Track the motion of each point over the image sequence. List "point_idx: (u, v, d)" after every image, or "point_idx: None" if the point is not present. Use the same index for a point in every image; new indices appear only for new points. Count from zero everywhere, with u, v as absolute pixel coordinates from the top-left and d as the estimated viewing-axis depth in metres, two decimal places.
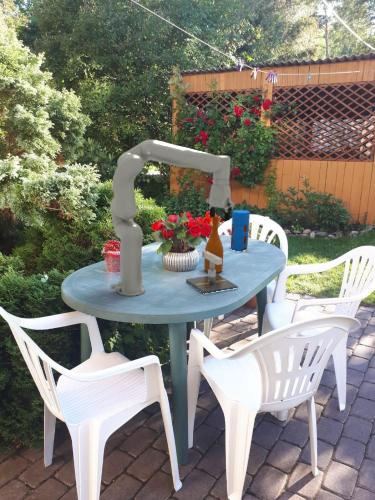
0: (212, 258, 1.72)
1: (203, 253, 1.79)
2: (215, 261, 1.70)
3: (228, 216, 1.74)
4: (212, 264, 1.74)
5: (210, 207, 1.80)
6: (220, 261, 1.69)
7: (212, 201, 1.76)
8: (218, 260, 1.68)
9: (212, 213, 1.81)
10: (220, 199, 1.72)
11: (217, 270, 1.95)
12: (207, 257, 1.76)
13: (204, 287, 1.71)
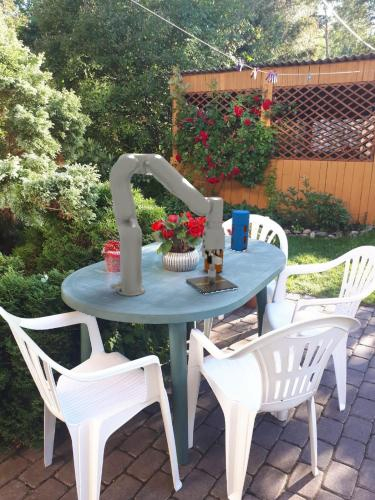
0: (212, 258, 1.72)
1: (203, 253, 1.79)
2: (215, 261, 1.70)
3: None
4: (212, 264, 1.74)
5: (210, 253, 1.71)
6: (220, 261, 1.69)
7: (211, 245, 1.69)
8: (218, 260, 1.68)
9: None
10: (221, 240, 1.71)
11: (217, 270, 1.95)
12: None
13: (204, 287, 1.71)
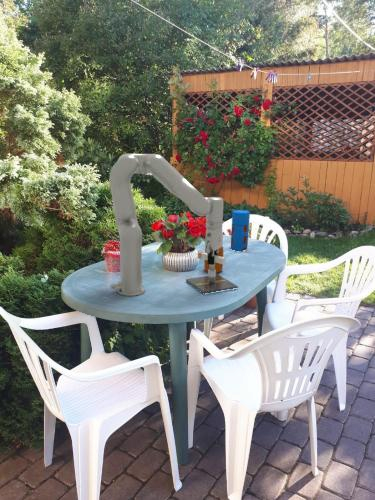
0: (214, 258, 1.72)
1: (199, 254, 1.77)
2: (219, 261, 1.70)
3: None
4: None
5: (213, 253, 1.71)
6: (224, 260, 1.70)
7: (216, 245, 1.69)
8: (223, 259, 1.69)
9: None
10: (221, 239, 1.73)
11: (217, 270, 1.95)
12: (206, 258, 1.75)
13: (204, 287, 1.71)
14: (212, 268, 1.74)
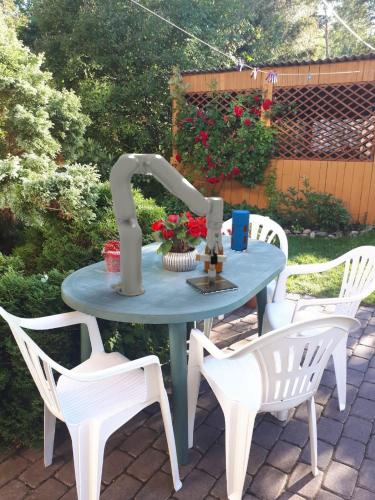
0: None
1: (198, 256, 1.73)
2: (222, 259, 1.73)
3: None
4: None
5: (217, 253, 1.71)
6: (226, 258, 1.74)
7: None
8: (226, 257, 1.73)
9: None
10: None
11: (217, 270, 1.95)
12: (206, 259, 1.73)
13: (204, 287, 1.71)
14: (213, 268, 1.75)
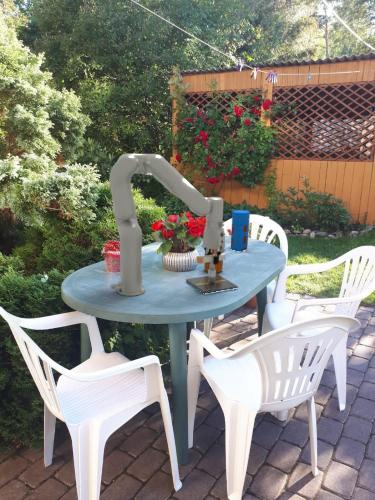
0: None
1: (201, 259, 1.70)
2: (222, 257, 1.75)
3: None
4: None
5: None
6: None
7: None
8: None
9: None
10: None
11: (217, 270, 1.95)
12: (209, 260, 1.72)
13: (204, 287, 1.71)
14: (214, 267, 1.75)
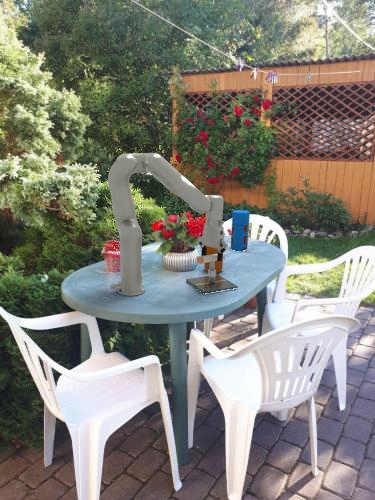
0: None
1: (202, 259, 1.70)
2: None
3: None
4: None
5: None
6: None
7: None
8: None
9: None
10: None
11: (217, 270, 1.95)
12: (209, 260, 1.72)
13: (204, 287, 1.71)
14: (214, 267, 1.75)
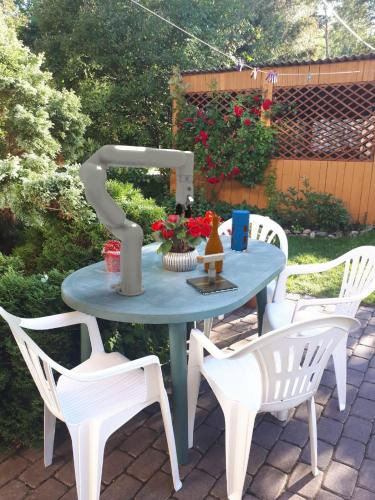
0: (217, 256, 1.74)
1: (202, 259, 1.70)
2: (222, 257, 1.76)
3: None
4: None
5: None
6: None
7: None
8: None
9: None
10: None
11: (217, 270, 1.95)
12: (209, 260, 1.72)
13: (204, 287, 1.71)
14: (214, 267, 1.75)
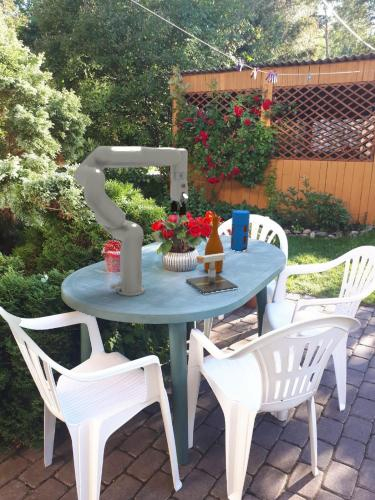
0: (217, 256, 1.74)
1: (202, 259, 1.70)
2: (222, 257, 1.76)
3: None
4: None
5: None
6: None
7: None
8: None
9: None
10: None
11: (217, 270, 1.95)
12: (209, 260, 1.72)
13: (204, 287, 1.71)
14: (214, 267, 1.75)
